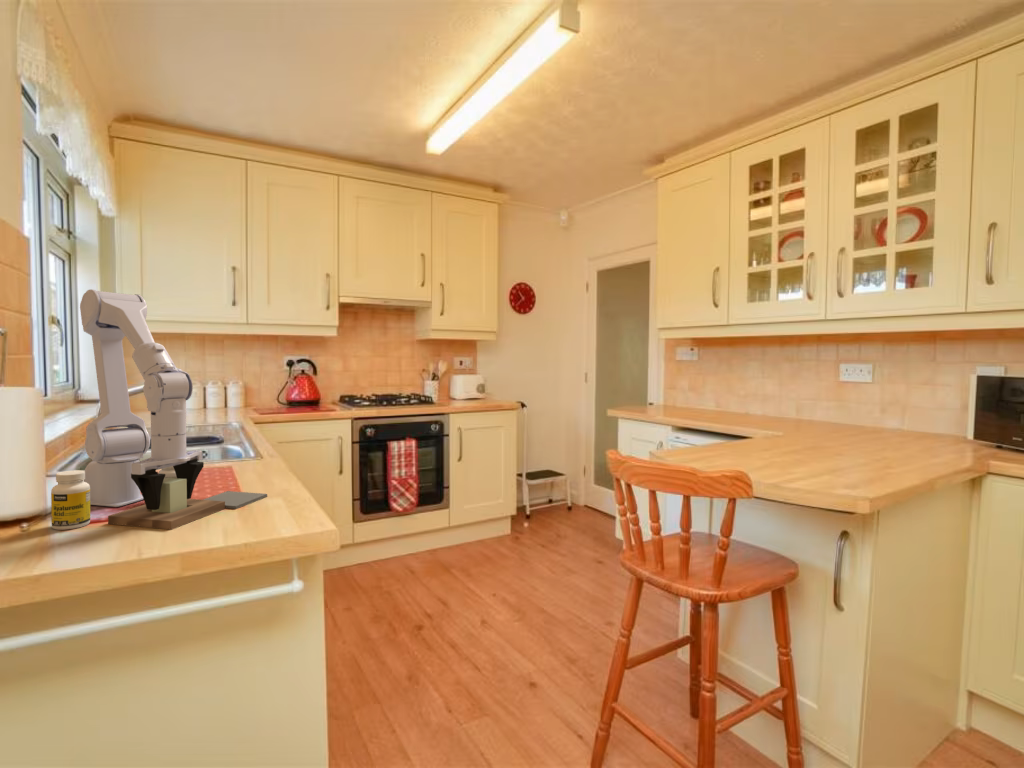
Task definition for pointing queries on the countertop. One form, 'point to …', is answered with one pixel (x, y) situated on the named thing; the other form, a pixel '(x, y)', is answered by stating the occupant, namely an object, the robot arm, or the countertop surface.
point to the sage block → (173, 495)
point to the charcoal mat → (237, 498)
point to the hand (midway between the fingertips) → (169, 503)
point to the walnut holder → (166, 515)
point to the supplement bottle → (70, 501)
